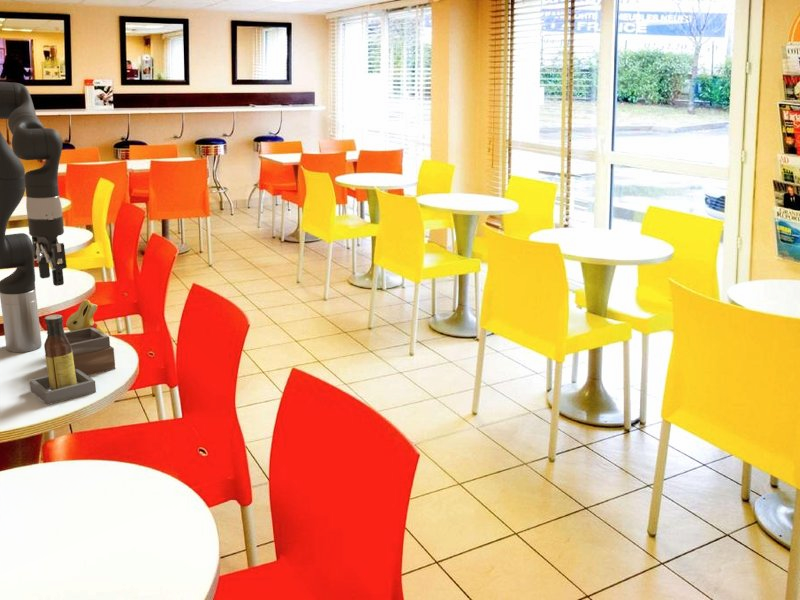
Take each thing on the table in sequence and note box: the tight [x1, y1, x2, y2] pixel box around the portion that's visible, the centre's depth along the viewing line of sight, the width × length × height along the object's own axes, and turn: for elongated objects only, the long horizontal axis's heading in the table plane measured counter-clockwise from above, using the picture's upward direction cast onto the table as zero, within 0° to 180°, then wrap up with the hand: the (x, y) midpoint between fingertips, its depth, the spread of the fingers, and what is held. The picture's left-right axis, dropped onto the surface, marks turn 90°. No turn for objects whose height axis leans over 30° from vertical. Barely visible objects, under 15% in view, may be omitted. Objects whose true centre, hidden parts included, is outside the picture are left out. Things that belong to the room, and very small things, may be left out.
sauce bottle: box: [43, 314, 78, 391], centre depth 191 cm, size 7×6×20 cm
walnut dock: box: [64, 327, 116, 376], centre depth 208 cm, size 13×13×9 cm
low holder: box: [29, 369, 97, 405], centre depth 193 cm, size 11×12×3 cm
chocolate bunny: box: [65, 298, 107, 335], centre depth 220 cm, size 7×11×15 cm, turn 105°
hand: (51, 281), depth 186 cm, fingers open, 8 cm apart
